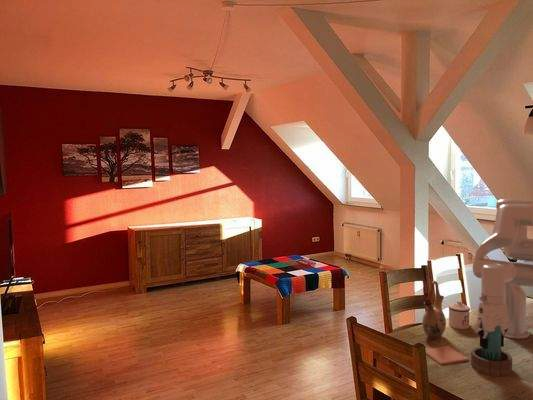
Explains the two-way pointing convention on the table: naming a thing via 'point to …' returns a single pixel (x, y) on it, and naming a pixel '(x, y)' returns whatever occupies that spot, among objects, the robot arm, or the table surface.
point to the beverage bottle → (493, 345)
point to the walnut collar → (491, 363)
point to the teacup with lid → (459, 315)
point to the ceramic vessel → (434, 314)
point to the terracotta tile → (445, 355)
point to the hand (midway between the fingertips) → (491, 346)
